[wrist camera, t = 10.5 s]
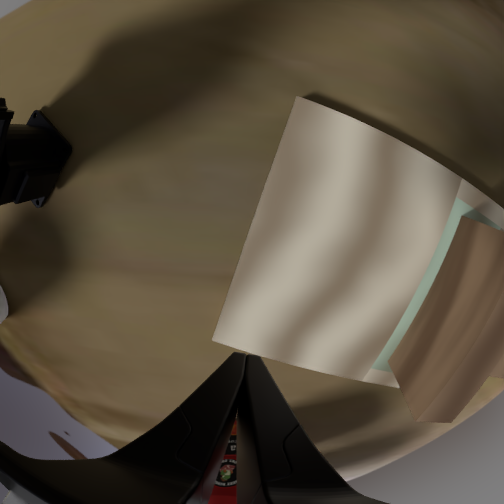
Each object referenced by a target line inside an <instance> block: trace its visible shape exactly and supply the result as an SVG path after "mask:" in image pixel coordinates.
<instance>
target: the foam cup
mask: <svg viewBox="0 0 504 504" xmlns="http://www.w3.org/2000/svg"><path fill="white" fill-rule="evenodd" d="M7 316H8V304H7V300H6V296H5V294H4V292H3V289H2V287H1V285H0V324H1V323H2V321H3V320H4V319H5V318H6V317H7Z"/></svg>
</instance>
